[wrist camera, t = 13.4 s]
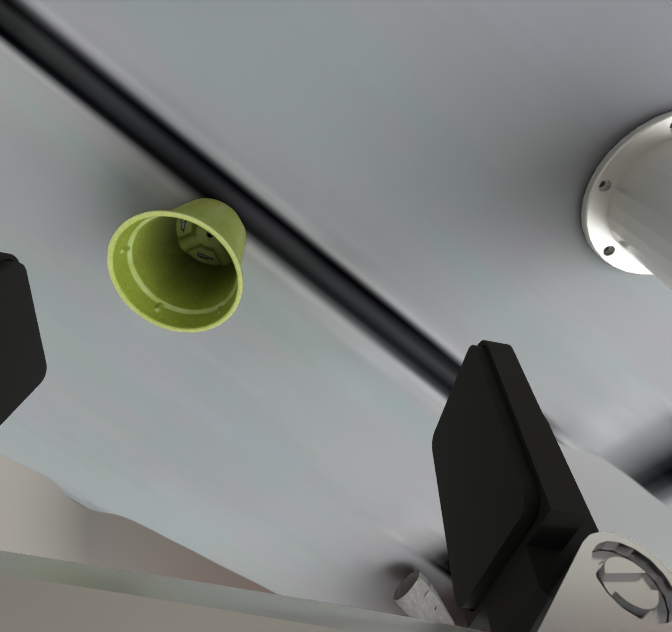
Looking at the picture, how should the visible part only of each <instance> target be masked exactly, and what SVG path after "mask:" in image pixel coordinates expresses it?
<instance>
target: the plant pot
mask: <svg viewBox="0 0 672 632" xmlns="http://www.w3.org/2000/svg"><path fill="white" fill-rule="evenodd" d="M183 219H184V220H187V221H186V224H185V230H184V231H183V230H182V229H181V224H182V220H183ZM208 232H210V233H211V234H212V237H211V238H210V237H208V236H207V233H208ZM245 244H246V231H245V228H244V226H243V224H242V222H241V220H240V218H239V217H238V215H237V213H236V212H235V211H234V210H233V209H232V208H231V207H229V206H228V205H227V204H225V203H223V202H221V201H218V200H215V199H210V198H200V199H195V200H192V201H190V202H187V203H185V204H183V205H181V206H179V207H177V208H174V209H172V210H170V211H169V210H152V211H147V212H143V213H140V214H137V215H135V216H133V217H131V218H129V219H128V220H126V221H125V222H124V223H122V224H121V225H120V226H119V227H118V229H117V230H116V231H115V232H114V234H113V236H112V238H111V240H110V243H109V246H108V252H107V266H108V271H109V275H110V278H111V280H112V283H113V285H114V287H115V289H116V291H117V292H118V294H119V296H120V297H121V298H122V299H123V301H124V302H125V303H126V304H127V305H128V306H129V307H130V308H131V309H132V310H133V311H134V312H135V313H137V314H138V315H139V316H140V317H142V318H144V319H145V320H147V321H148V322H150V323H152V324H154V325H156V326H159V327H161V328H164V329H168V330H172V331H177V332H201V331H206V330H209V329H212V328H214V327H216V326H218V325H220V324H221V323H223V322H224V321H226V320H227V319H228V318H229V317H230V316H231V315H232V314H233V312H234V311H235V309H236V308H237V306H238V304H239V301H240V298H241V295H242V289H243V275H242V270H241V266H240V265H241V260H242V256H243V253H244V248H245ZM199 252H200V253H202V254H204V255H206V256H209V257H212V258H213V259H204V258H202V257H200V256H199V255H198V253H199Z"/></svg>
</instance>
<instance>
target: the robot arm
mask: <svg viewBox="0 0 672 632" xmlns="http://www.w3.org/2000/svg"><path fill="white" fill-rule="evenodd" d="M671 123H672V111H671V112H668V113H665V114H663V115H660V116H657V117H655V118H653V119H651V120H649V121H648V122H646V123H644V124H642V125H640V126H639V127H637V128H636V129H634V130H633V131H632V132H630V133H629V134H628V135H626V136H625V137H624V138H622V139H621V140H620V141H619V142H618V143H617V144H616V145H615V146H614V147H613V148H612V149H611V150H610V151H609V152H608V153H607V155H606V156H605V157H604V159H603V160H602V161H601V163H600V164H599V165H598V167H597V168H596V170H595V172H594V174H593V175H592V177H591V179H590V181H589V183H588V185H587V189H586V192H585V195H584V198H583V203H582V211H581V220H582V229H583V232H584V235H585V238H586V241H587V242H588V244H589V245H590V247H591V248H592V250H593V251H594V252H595V253H596V254H597V255H598V256H599V257H600V258H601V259H602V260H603V261H605V262H606V263H608V264H609V265H611V266H612V267H614V268H616V269H619V270H621V271H624V272H628V273H633V274H638V275H655V276H656V277H657V278H658V279H660V280H661V281H662V282H663V283H664V284H666V285H667V286H668V287H669V288H670V289H672V125H671V126H670V124H671ZM602 181H603V183H602V184H601V185H599V184H600V183H601V182H602ZM46 370H47V365H46V360H45V355H44V351H43V346H42V341H41V337H40V332H39V327H38V323H37V318H36V313H35V309H34V304H33V299H32V295H31V290H30V285H29V281H28V276H27V271H26V269H25V267H24V265H23V264H21V263H19V261H18V259H17V258H16V257H15V256H14V255H12V254H8V253H2V252H0V425H1V424H2V423H3V422H4V421H5V420H6V419H7V418H8V417H9V416H10V415H11V414H12V412H13V411H14V410H15V409H16V408H17V407H18V406H19V405H20V404H21V403H22V402H23V401H24V400H25V399H26V398H27V397H28V396H29V395H30V394H31V393H32V392H33V390H34V389H35V388H36V387H37V386H38V385H39V384H40V383H41V382H42V381H43V379H44V377H45V374H46ZM432 451H433V458H434V464H435V471H436V477H437V484H438V491H439V497H440V504H441V510H442V517H443V523H444V530H445V537H446V543H447V550H448V556H449V563H450V569H451V576H452V582H453V589H454V595H455V600H456V603H457V605H458V606H459V607H462V608H465V612H466V618H467V624H468V628H466V627H461V626H455V625H450V624H444V623H439V622H433V621H428V620H422V619H417V618H411V617H406V616H400V615H395V614H389V613H384V612H378V611H373V610H367V609H361V608H355V607H349V606H343V605H337V604H331V603H325V602H319V601H312V600H306V599H300V598H294V597H288V596H282V595H276V594H270V593H263V592H257V591H251V590H245V589H239V588H232V587H227V586H221V585H214V584H208V583H202V582H196V581H190V580H184V579H177V578H171V577H165V576H158V575H152V574H145V573H139V572H133V571H127V570H121V569H114V568H108V567H102V566H95V565H88V564H82V563H76V562H70V561H63V560H57V559H51V558H44V557H38V556H31V555H25V554H18V553H12V552H6V551H0V632H484V631H487V632H672V572H670V570H669V569H668V568H667V567H666V566H665V565H664V564H663V563H662V561H660V559H658V558H657V557H656V556H655V555H653V554H652V553H651V552H650V551H649V550H647V549H646V548H645V547H643V546H642V545H640V544H638V543H636V542H635V541H633V540H631V539H629V538H627V537H624V536H621V535H618V534H616V533H611V532H599V531H598V529H597V527H596V524H595V522H594V520H593V518H592V516H591V514H590V511H589V509H588V507H587V505H586V503H585V501H584V499H583V497H582V494H581V492H580V490H579V488H578V486H577V484H576V482H575V479H574V477H573V475H572V473H571V471H570V469H569V466H568V464H567V462H566V460H565V458H564V456H563V453H562V451H561V449H560V447H559V445H558V443H557V441H556V438H555V436H554V434H553V432H552V430H551V428H550V425H549V423H548V421H547V420H546V418H545V417H544V415H543V413H542V411H541V409H540V407H539V405H538V403H537V400H536V398H535V396H534V394H533V392H532V390H531V387H530V385H529V383H528V381H527V379H526V377H525V374H524V372H523V370H522V368H521V366H520V364H519V361H518V359H517V357H516V355H515V353H514V350H513V348H512V347H511V346H510V345H508V344H502V343H497V342H491V341H486V340H482V341H481V342H480V343H479V344H478V346H476V345H472V346H470V348H469V349H468V351H467V354H466V356H465V359H464V361H463V364H462V366H461V368H460V371H459V373H458V376H457V378H456V381H455V383H454V385H453V388H452V390H451V393H450V395H449V398H448V400H447V403H446V405H445V407H444V410H443V412H442V415H441V417H440V420H439V422H438V425H437V427H436V429H435V432H434V435H433V440H432ZM480 630H481V631H480Z"/></svg>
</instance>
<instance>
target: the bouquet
mask: <svg viewBox="0 0 672 632" xmlns="http://www.w3.org/2000/svg"><path fill="white" fill-rule="evenodd" d="M394 600H395V602H396V603H397V604H398V605H399V606H400V608H401V609H402V610H403V611H404V612H405V613H406V614H407V615H408V616H409V617H411V618H417V619H422V620H428V621H433V622H439V623H444V624H450V625H455V623H454V621H453V620H452V618H451V616H450V615H449V613H448V611H447V609H446V607H445V606H444V604H443V602H442V600H441V599H440V597H439V595H438V594H437V592H436V590H435V589H434V587H433V586H432V585H431V583H430V582H429V581H428V579H427V578H426V577H425V576H424V575H423V574H422V573H421V572H420V571H419V570H416V571H414V572H412V573H411V574H410V575H408V576H407V577H406V578H405V579H404V581H403V582H402V583H401V584H400V586H399V587H398V588H397V590H396V592H395V594H394ZM455 626H456V625H455ZM480 631H481V630H480ZM484 632H487V631H484Z"/></svg>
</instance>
